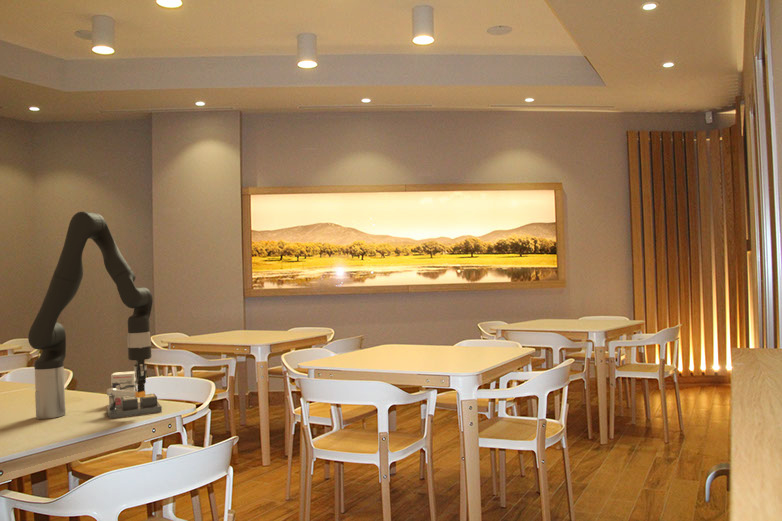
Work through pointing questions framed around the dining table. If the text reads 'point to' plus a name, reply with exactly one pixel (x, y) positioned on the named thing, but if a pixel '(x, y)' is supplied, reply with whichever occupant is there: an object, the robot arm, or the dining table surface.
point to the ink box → (123, 383)
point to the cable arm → (125, 393)
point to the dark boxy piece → (133, 406)
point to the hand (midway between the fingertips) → (141, 395)
